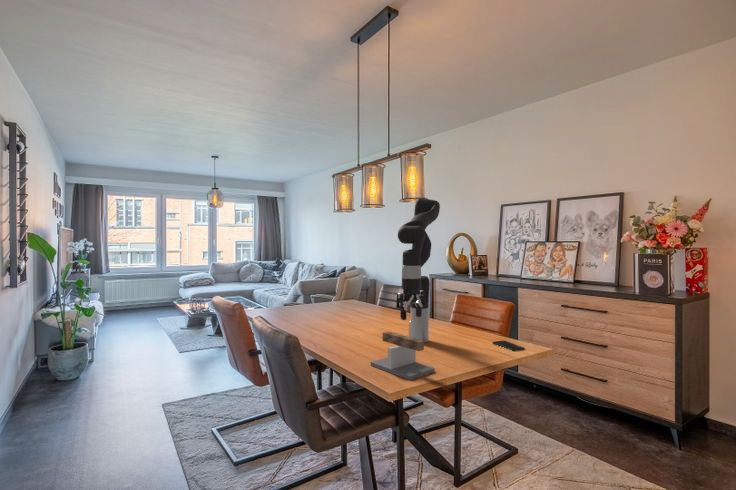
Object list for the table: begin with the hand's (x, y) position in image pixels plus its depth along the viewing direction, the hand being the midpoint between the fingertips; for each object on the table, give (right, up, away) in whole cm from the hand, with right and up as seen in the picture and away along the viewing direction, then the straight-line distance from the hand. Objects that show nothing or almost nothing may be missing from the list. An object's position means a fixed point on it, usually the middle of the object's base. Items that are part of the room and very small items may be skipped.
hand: (411, 318), depth 152 cm
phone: (+51, -21, +37) cm, 67 cm away
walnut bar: (-3, -12, +4) cm, 13 cm away
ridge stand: (-3, -21, +4) cm, 22 cm away
